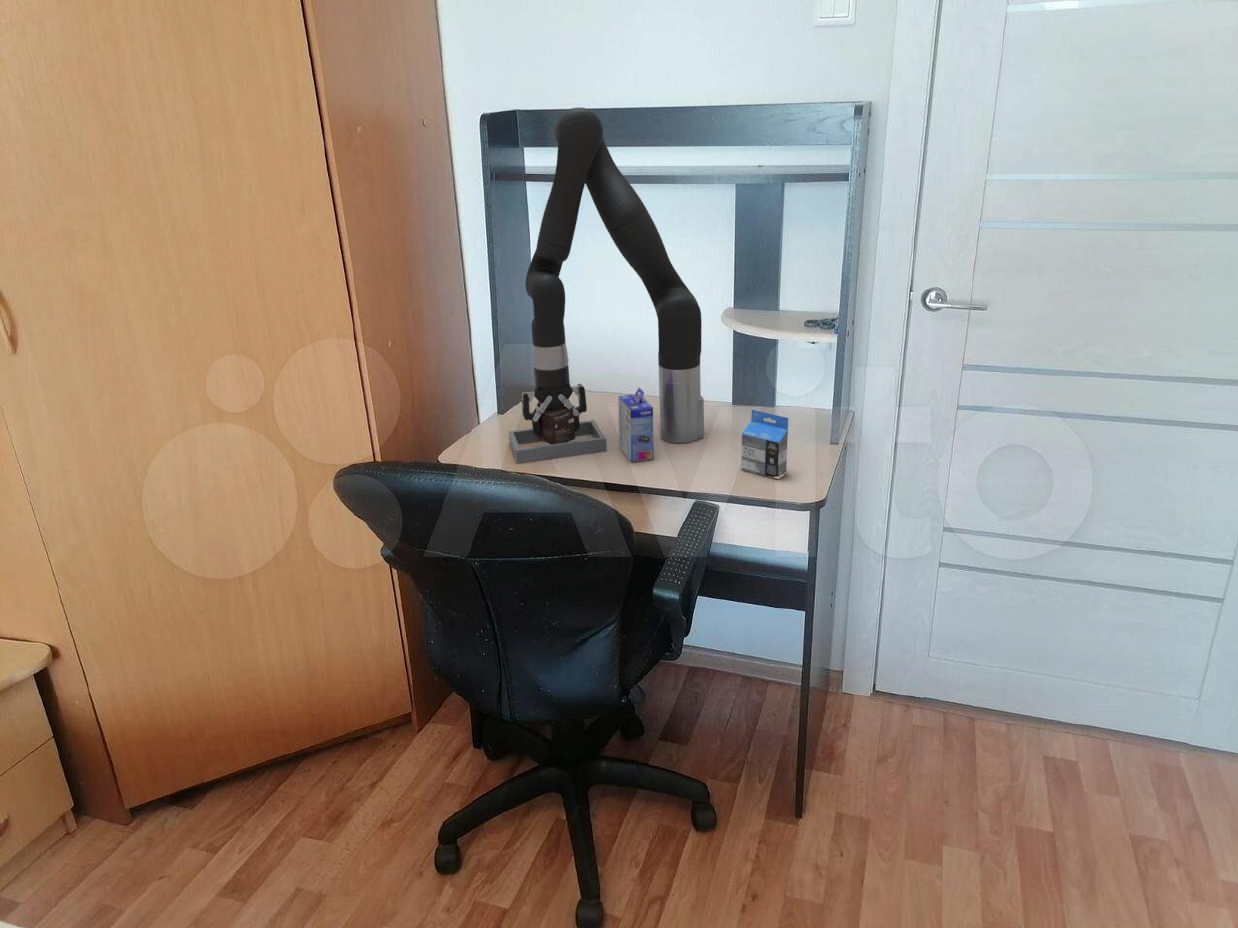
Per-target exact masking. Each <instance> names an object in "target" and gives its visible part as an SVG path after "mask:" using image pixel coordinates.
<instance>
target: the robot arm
mask: <svg viewBox="0 0 1238 928" xmlns="http://www.w3.org/2000/svg"><path fill="white" fill-rule="evenodd" d="M603 128H604V127H603V124H602V121H601V120H600V117H598V115H597V114H596V113H595V112H594V111H593V110H591V109H589V108H586V107H573V108H569V109H567V110H565V111H564V112H563V113H561V114H560V115H559V117H558V119H557V120H556V123H555V126H554V137H555V141H556V143H557V156H556V165H555V171H554V172H555V173H554V178H553V181H552V185H551V189H550V192H549V196H548V198H547V201H546V205H545V208H544V211H543V214H542V218H541V223H540V228H539V232H538V236H537V240H536V241H537V243H536V248H535V252H534V254H533V255H532V259H531V261H530V264H529V265H528V266H529V267H528V270H527V273H526V276H525V283H524V284H525V291H526V293H527V296H528V297H530V298H531V299H532V306H533V307H532V308H533V319H532V321H531V339H532V361H533V372H534V373H533V374H534V385H535V388H534V391H528V392H527V391H526V390H523V391H522V392H521V406H522V416H523V419H524V420H526V421H531V425H532V427H531V428H533V432H534V434H535V435H537V437H540V424H539V420H538V419H539V417H540V416H541V414H543V412H544V411H545V409H546V408H547V409H553V408H562V407H563V406H566V407H567V408H568V409H569V410H570V409H573V416H574V429H575V431H577V429H579V427H580V423H579V422H580V414H582V413H587V410H588V408H587V407H588V406H587V400H586V399H587V397H586V388H585V387H584V385H583V384H582V383H578V384H577V385H575V386H571V382H570V367H569V362H570V361H569V356H568V355H569V354H568V348H567V344H566V343H567V341H566V332H565V331H566V330H565V328H566V327H565V324H564V323H565V322H564V321H565V312H566V291H565V287H564V283H563V281H562V279H561V278H560V274H561V270H562V266H563V263H564V262H565V261H566V260H567V259H568V258H569V256H570V253H571V249H572V244H573V239H574V236H575V233H576V232H575V231H576V227H577V222H578V215H579V211H580V205H581V203H582V202H581V201H582V197H583V193H584V188H585V186H586V188H587V190H588V192H589V194H590V197H591V199H592V202H593V204H594V206H595V209H596V210H597V213H598V215H599V217H600V219H601V220H602V221H601V222H603V225H604V227H605V229H606V231H607V233H608V234H609V237H610V238H611V239H612V241H613V243H614V244H615V246H616V248H617V249H618V251H619V253H620V254H621V255H622V257H623V258H624V260H625V261H626V262H627V264H629V266H630V267H631V268H632V270H634V272H635V273H636V274H637V276H638V277H639V278H640V280H641V282H642V283H643V286H644V288H645V289H646V291H647V294H648V296H649V298H650V300H651V302H652V304H653V307H654V309H655V313H656V316H657V329H658V332H657V333H658V334H657V335H658V336H657V337H658V353H657V355H658V356H657V359H658V360H657V362H658V392H659V393H658V394H659V397H658V398H659V425H660V426H659V429H660V430H659V431H660V438H661V440H664V441H665V442H668V443H673V444H674V443H675V444H687V443H693V442H696V441H697V440H699V439H703V438H705V413H704V410H705V406H704V405H705V401H704V400H705V399H704V397H703V396H702V395H701V393H702V391H701V389H702V388H701V385H702V383H701V355H702V328H703V327H702V326H703V325H702V311H701V308H700V305H699V303H698V301H697V298H696V297H695V296H694V294H693V293H692V291H690V290H689V288H688V286H687V285H686V284H685V282H684V281H683V278H681V277H680V275H679V273H678V272H677V270H676V269H675V267H674V265H673V264H672V262H671V260H670V257H669V255H668V252H667V250H666V247H665V244H664V242H663V239H662V237H661V234H660V232H659V230H658V228H657V225H656V224H655V222H654V220H653V219H652V217H651V214H650V213H649V211H648V209H647V207H646V205H645V204H644V202H643V201H642V198H641V197H640V196H639V195H638V193H637V192H636V190H635V189H634V188H633V186H632V185H631V183H630V182H629V181H628V180H627V179H626V177H625V176H624V174H623V173H622V172H621V171H620V169H619V168H618V166H617V164H616V163H615V161H614V159H613V158H612V155H611V153H610V151H609V148H608V147H607V145H606V142H605V140H604V137H603V136H604V129H603ZM573 393H574V394H575V396H577V397H578V398H577V399H578V406H575V405H574V404H573V403H572V402H571V401H570V397H571V396H572V394H573ZM533 398H535V399H536V401H538V402H536V405H535V407H534V409H533V411H532V412H530V403H531V402H532V401H533Z"/></svg>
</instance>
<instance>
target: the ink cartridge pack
mask: <svg viewBox="0 0 1238 928" xmlns="http://www.w3.org/2000/svg"><path fill="white" fill-rule="evenodd" d="M750 417H751V419H750V422H749V423H748V424H747V426H746V428H745V429H744V430H743V431H742V433H741V470H742V471H746V472H748V471H749V472H750V473H752V472H755V473H754V474H756V473H758V474H757V475H759V474H762V475H761V476H763V475H766V476H765V477H767V476H771V477H780V476H781V475H783V474H784V473H785V472H786V473H787V466H788V465H787V464H788V462H787V461H788V459H787V458H788V457H787V456H788V439H789V436H788V435H789V417H786V416H781V415H777V414H772V413H768V412H764V411H759V410H755V409H751V416H750ZM764 419H770V420H772V421H775V422H771V421H767V420H764ZM749 472H748V473H749Z"/></svg>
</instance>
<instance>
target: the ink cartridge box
mask: <svg viewBox="0 0 1238 928" xmlns="http://www.w3.org/2000/svg"><path fill="white" fill-rule="evenodd" d="M644 394H645V392H644V391H643V390H642V389H641V387H638V388H637V390H636V392H635V393H634V394H627V395H626V394H625V395H620V396H618V445H619V446H618V447H619V448H620V450H621V451H622V452H623V454H624V455H625V456H626V457H627V459H628V461H629V462H630V463H633V462H634V463H635V462H645V461H653V460H654V457H655V456H654V407H653V406H652V405H651V404H650V402H648V400H647V399H646V398H645V397H644Z"/></svg>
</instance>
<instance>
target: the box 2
mask: <svg viewBox="0 0 1238 928" xmlns="http://www.w3.org/2000/svg"><path fill="white" fill-rule="evenodd" d="M579 423H580V427H579V429H577V431H575V437H580V436H587V435H591V436H592V437H593V438H587V439H581V440H580V439H579V440H571V441H569V442H565V443H558V444H546V445H545V444H543V445H537V446H529V447H524V448H520V446H519V445H520V444H522V445H523V444H528V443H535V442H542V441H541V440H539V437H537V435H535V434H534V432H533V428H532V427H530V428H524V429H517V430H516V429H515V430H510V431H509V430H508V432H507V433H508V441H509V442H508V443H509V445H510V448H511V451H512V454H513V456H514V459H515V461H516V464H517V463H519V464H524V463H531V462H532V463H533V462H539V461H546V460H554V459H559V458H567V457H574V456H581V455H582V456H583V455H588V454H589V455H590V454H595V453H601V452H602V453H603V452H607V450H608V449H607V437H606V436H605V435H604V433H603V432H602V430H601V429H600V427H599V424H598V423H597V422H596V421H595V419H592V420H591V419H590V420H585V421H584V420H583V421H579Z"/></svg>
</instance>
